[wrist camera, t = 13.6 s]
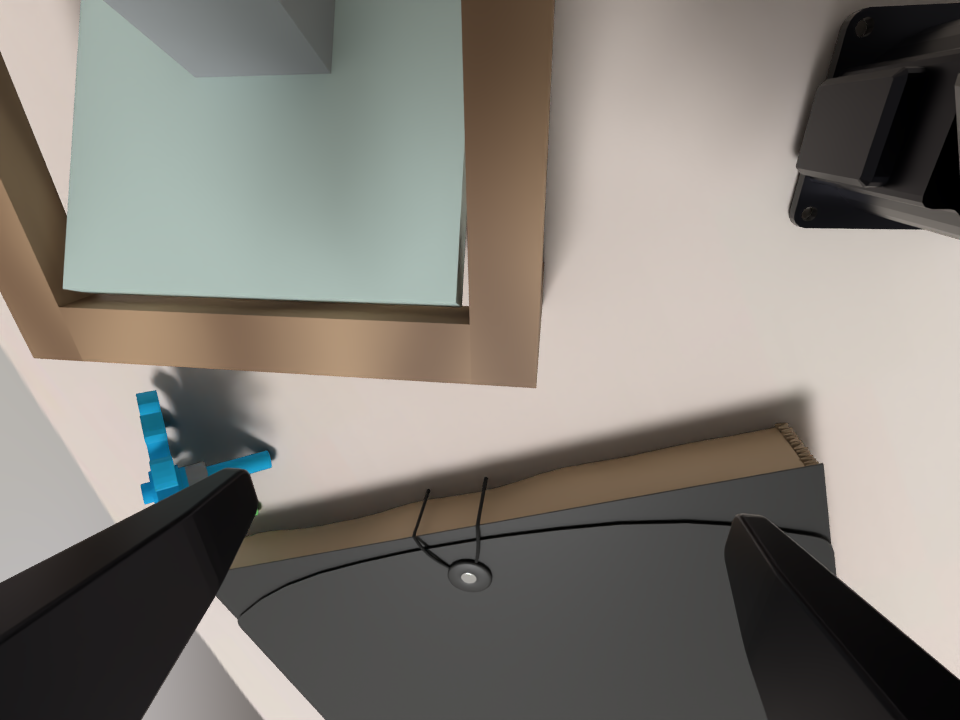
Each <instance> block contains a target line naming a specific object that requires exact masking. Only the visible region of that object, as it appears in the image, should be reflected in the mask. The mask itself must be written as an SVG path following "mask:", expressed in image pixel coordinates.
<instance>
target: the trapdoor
mask: <svg viewBox="0 0 960 720" xmlns="http://www.w3.org/2000/svg"><path fill="white" fill-rule="evenodd" d="M466 221H467V204H466V167H465V130H464V93H463V56H462V19H461V0H335V17H334V33H333V50H332V67H331V74H298V75H265V76H232V77H200V78H195V77H194V76H193V75H192V74H191V73H189V72H188V71H187V70H186V69H185V68H183V67H182V66H181V65H180V64H179V63H177V62H176V61H175V60H174V59H173V58H171V57H170V56H169V55H168V54H167V53H165V52H164V51H163V50H162V49H161V48H159V47H158V46H157V45H156V44H155V43H153V42H152V41H151V40H150V39H149V38H147V37H146V36H145V35H144V34H143V33H142V32H140V31H139V30H138V29H137V28H136V27H134V26H133V25H132V24H131V23H130V22H128V21H127V20H126V19H125V18H124V17H122V16H121V15H120V14H119V13H118V12H116V11H115V10H114V9H113V8H112V7H110V6H109V5H108V4H107V3H106V2H104V1H103V0H81V5H80V21H79V37H78V53H77V69H76V85H75V101H74V116H73V132H72V148H71V164H70V180H69V196H68V212H67V227H66V243H65V259H64V275H63V289H67V290H73V291H79V292H85V293H92V294H116V295H143V296H170V297H197V298H224V299H251V300H278V301H305V302H332V303H358V304H385V305H412V306H439V307H462V294H463V276H464V258H465V239H466Z"/></svg>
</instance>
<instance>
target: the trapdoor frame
mask: <svg viewBox="0 0 960 720" xmlns="http://www.w3.org/2000/svg"><path fill="white" fill-rule="evenodd" d="M554 7H555V0H461V19H462V56H463V93H464V130H465V167H466V204H467V241H468V278H469V306H462V307H439V306H412V305H385V304H358V303H332V302H305V301H278V300H251V299H224V298H197V297H170V296H143V295H116V294H92V293H85V292H79V291H73V290H67V289H63V275H64V259H65V243H66V227H67V215H66V213H65V210H64V208H63V205H62V203H61V200H60V198H59V195H58V193H57V190H56V188H55V186H54V183H53V181H52V178H51V176H50V173H49V171H48V168H47V166H46V163H45V161H44V158H43V156H42V153H41V151H40V149H39V146H38V144H37V141H36V139H35V136H34V134H33V131H32V129H31V126H30V124H29V121H28V119H27V116H26V114H25V112H24V109H23V107H22V104H21V102H20V99H19V97H18V94H17V92H16V89H15V87H14V84H13V82H12V79H11V77H10V75H9V72H8V70H7V67H6V65H5V62H4V60H3V57H2V55H1V52H0V292H1V294H2V296H3V298H4V300H5V302H6V304H7V306H8V308H9V310H10V312H11V314H12V316H13V318H14V320H15V322H16V324H17V326H18V328H19V330H20V332H21V334H22V336H23V338H24V340H25V342H26V344H27V346H28V348H29V350H30V352H31V353H32V355H33V357H34V358H40V359H57V360H74V361H91V362H107V363H124V364H141V365H158V366H175V367H191V368H208V369H225V370H242V371H258V372H275V373H292V374H309V375H326V376H342V377H359V378H376V379H393V380H410V381H426V382H443V383H460V384H477V385H493V386H510V387H527V388H536V383H537V369H538V356H539V342H540V328H541V315H542V298H543V277H544V262H543V243H544V222H545V200H546V179H547V157H548V136H549V114H550V93H551V72H552V50H553V29H554Z"/></svg>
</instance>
